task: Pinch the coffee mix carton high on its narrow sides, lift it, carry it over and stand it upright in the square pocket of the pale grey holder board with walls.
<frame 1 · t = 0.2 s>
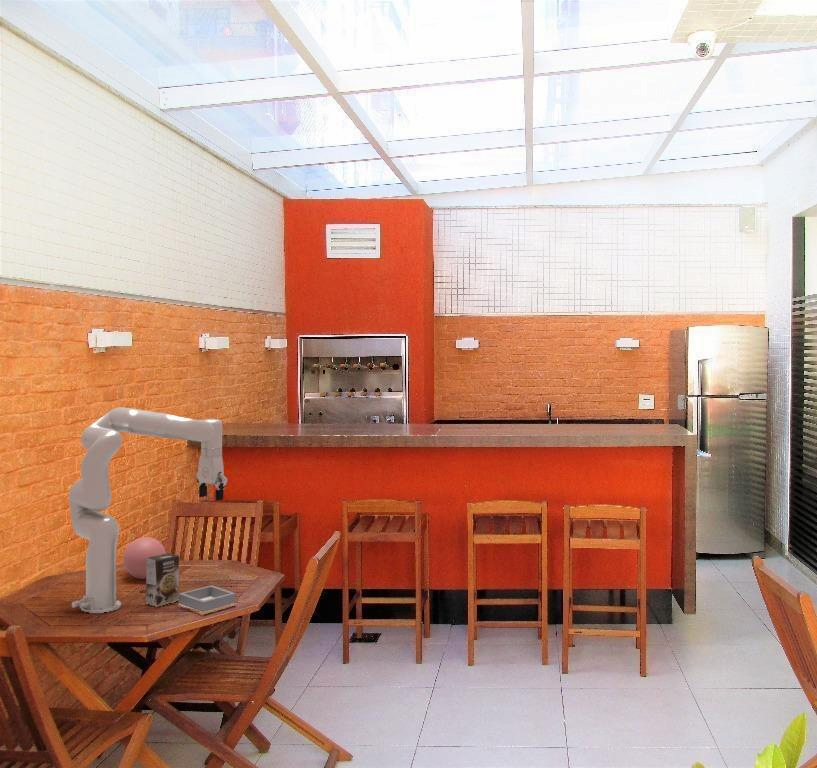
hand: (211, 498, 317), 31 cm above the table, tool pointing down, fingers open, 9 cm apart
balloon: (142, 577, 322), on the table
coffee box: (162, 603, 292), on the table
holder: (207, 606, 289), on the table
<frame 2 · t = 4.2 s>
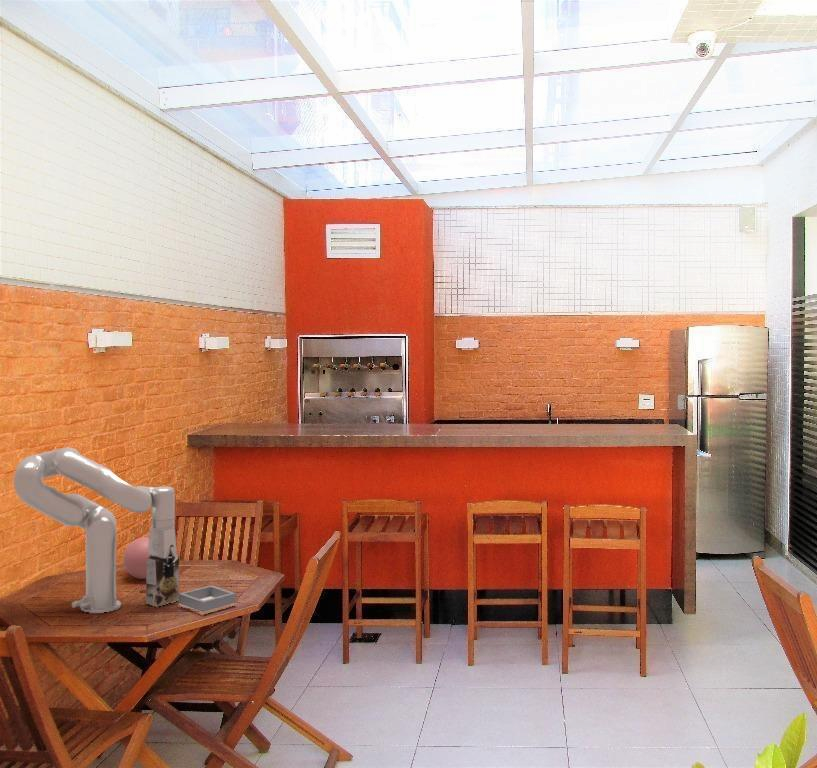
hand: (162, 574, 291), 10 cm above the table, tool pointing down, fingers closed on coffee box, 6 cm apart
coffee box: (162, 603, 292), on the table, touching gripper
everything else where it was.
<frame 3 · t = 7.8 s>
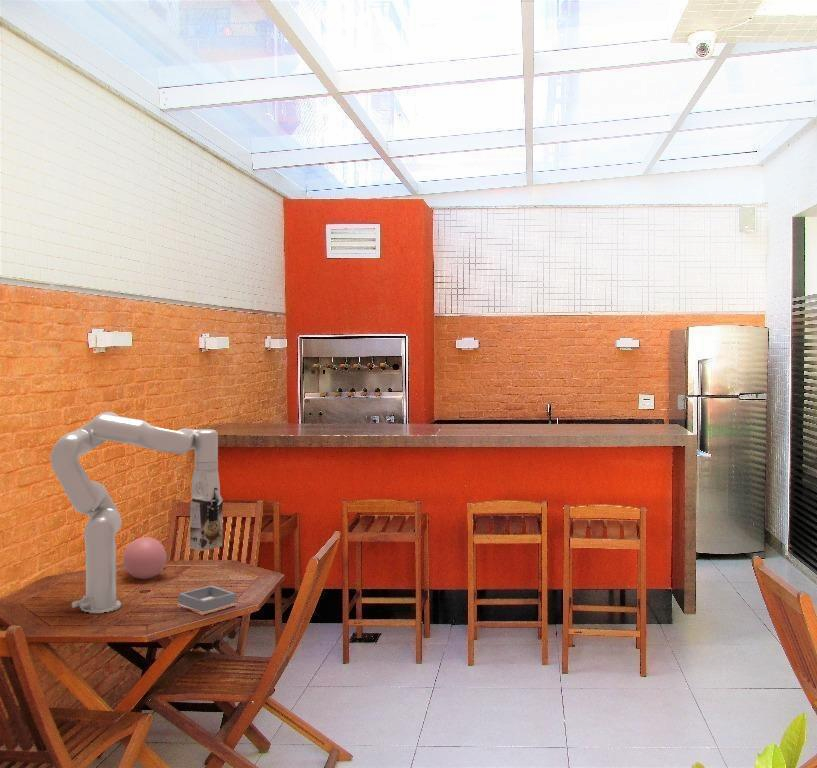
hand: (206, 518, 288), 30 cm above the table, tool pointing down, fingers closed on coffee box, 6 cm apart
coffee box: (206, 547, 288), point 20 cm above the table, touching gripper
everything else where it was.
when the fingers open (12 cm above the table, at t = 11.7 s): coffee box drops 1 cm, resting on holder.
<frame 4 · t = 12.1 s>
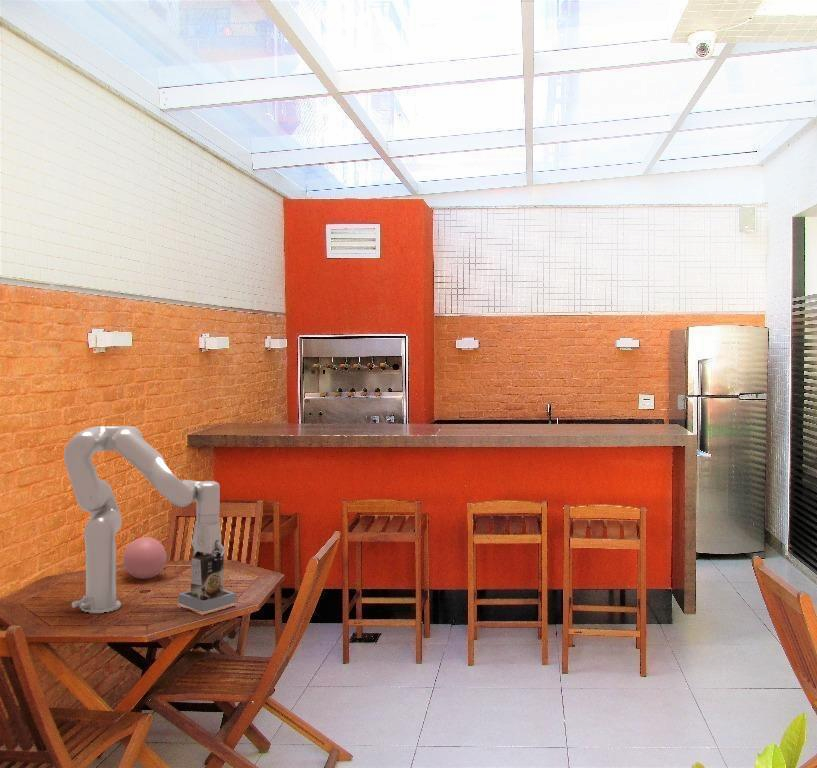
hand: (207, 568, 288), 13 cm above the table, tool pointing down, fingers open, 9 cm apart
coffee box: (207, 603, 289), point 1 cm above the table, touching holder
everything else where it was.
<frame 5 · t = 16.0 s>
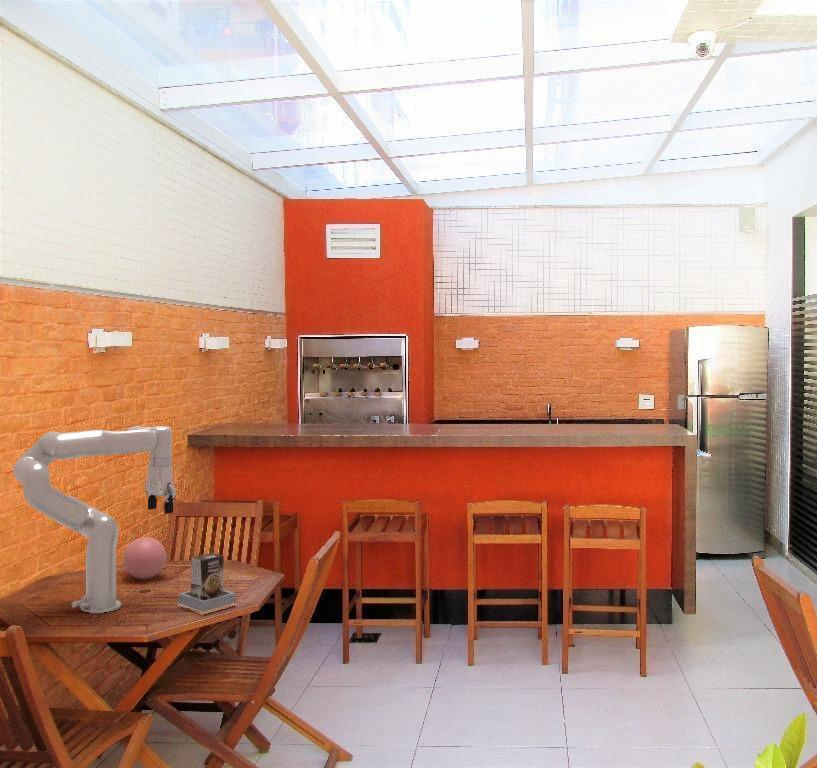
hand: (160, 511, 296), 30 cm above the table, tool pointing down, fingers open, 9 cm apart
nothing on the table moved.
at the end: coffee box 0.2 cm off-centre on the holder, point 1.0 cm above the holder's base; coffee box tilted 0°; the gripper is holding nothing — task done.
